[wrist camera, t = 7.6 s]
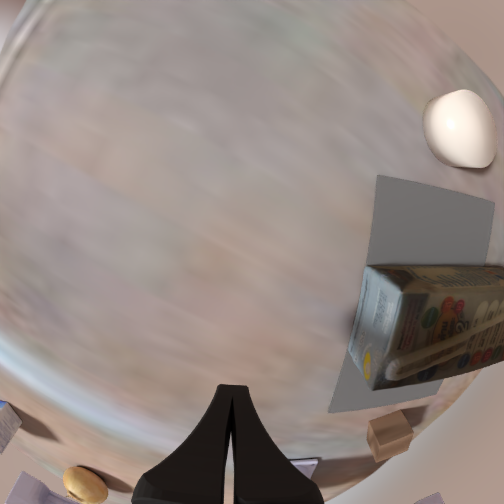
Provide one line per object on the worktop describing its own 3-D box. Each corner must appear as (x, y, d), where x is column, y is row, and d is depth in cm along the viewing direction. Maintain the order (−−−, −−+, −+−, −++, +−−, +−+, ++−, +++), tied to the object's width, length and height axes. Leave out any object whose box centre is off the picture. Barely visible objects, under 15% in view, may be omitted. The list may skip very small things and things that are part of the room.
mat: (435, 393, 24) (436, 394, 24) (327, 411, 24) (328, 413, 24) (493, 202, 19) (494, 202, 18) (377, 174, 18) (378, 174, 18)
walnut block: (395, 428, 26) (407, 450, 22) (366, 438, 26) (376, 462, 22) (400, 408, 25) (413, 432, 21) (368, 420, 25) (380, 446, 21)
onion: (112, 476, 28) (101, 509, 21) (111, 490, 30) (102, 518, 23) (67, 454, 27) (52, 485, 20) (71, 471, 29) (59, 498, 22)
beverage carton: (361, 257, 19) (407, 291, 13) (507, 263, 20) (548, 284, 14) (343, 349, 21) (371, 402, 15) (487, 330, 22) (521, 358, 16)
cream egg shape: (469, 173, 18) (496, 175, 15) (421, 158, 18) (448, 157, 14) (469, 109, 16) (495, 105, 13) (420, 88, 16) (445, 78, 13)
